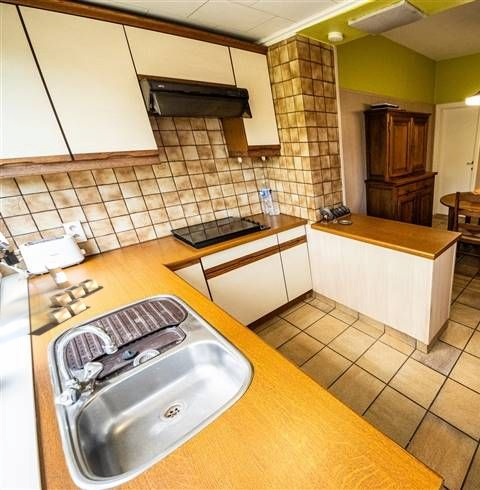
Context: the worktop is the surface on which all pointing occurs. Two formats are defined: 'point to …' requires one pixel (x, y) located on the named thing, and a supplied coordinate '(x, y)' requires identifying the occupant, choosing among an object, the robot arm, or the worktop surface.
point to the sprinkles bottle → (58, 275)
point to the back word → (70, 295)
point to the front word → (61, 315)
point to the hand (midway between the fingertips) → (5, 263)
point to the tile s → (88, 285)
